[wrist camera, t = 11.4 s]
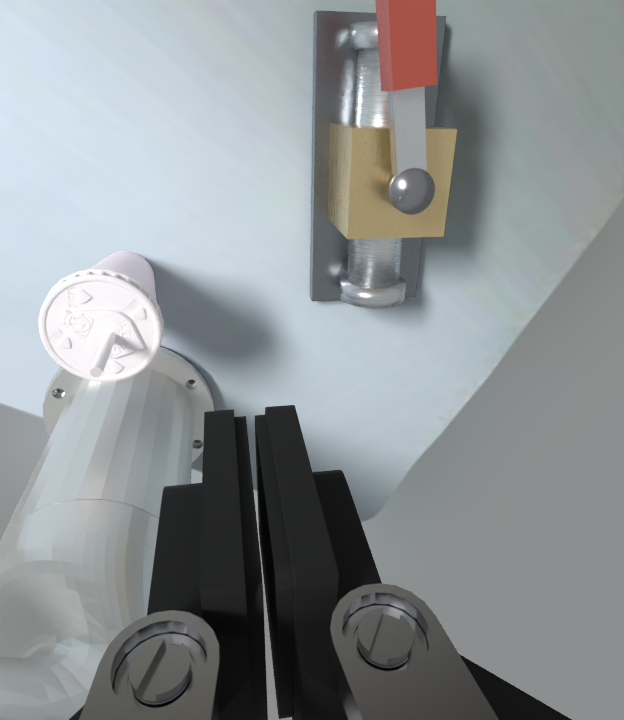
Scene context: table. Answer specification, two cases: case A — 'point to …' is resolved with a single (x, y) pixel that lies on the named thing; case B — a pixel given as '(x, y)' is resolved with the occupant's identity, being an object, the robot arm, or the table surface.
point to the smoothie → (104, 319)
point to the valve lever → (407, 95)
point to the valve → (365, 170)
